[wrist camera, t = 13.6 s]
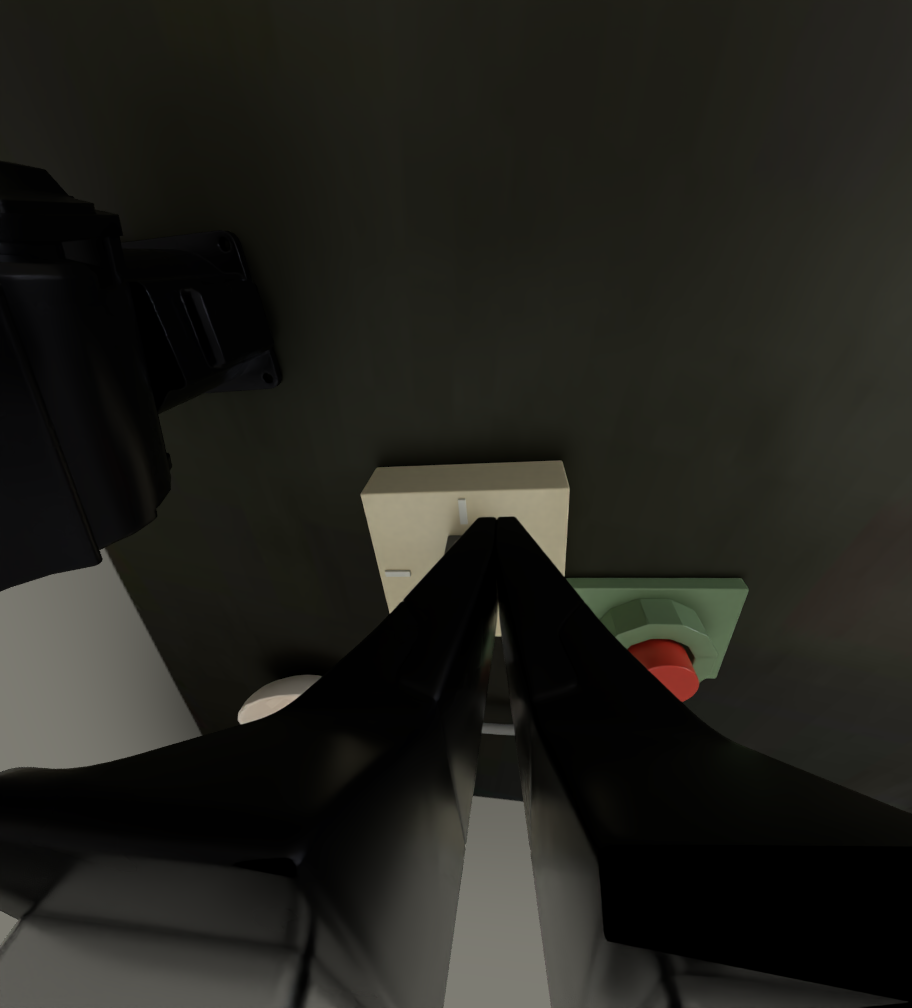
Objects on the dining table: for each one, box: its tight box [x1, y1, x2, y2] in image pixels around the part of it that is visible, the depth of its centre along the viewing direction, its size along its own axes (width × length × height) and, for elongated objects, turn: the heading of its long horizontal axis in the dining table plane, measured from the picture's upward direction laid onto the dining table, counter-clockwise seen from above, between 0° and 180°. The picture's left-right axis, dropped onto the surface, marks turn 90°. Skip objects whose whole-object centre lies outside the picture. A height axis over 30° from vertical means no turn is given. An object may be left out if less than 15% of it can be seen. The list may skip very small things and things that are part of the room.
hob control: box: [361, 460, 570, 636], centre depth 23 cm, size 10×10×3 cm
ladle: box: [238, 675, 515, 735], centre depth 32 cm, size 6×28×5 cm, turn 86°
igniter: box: [566, 578, 749, 683], centre depth 25 cm, size 10×8×3 cm
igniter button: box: [627, 639, 699, 702], centre depth 23 cm, size 4×4×2 cm
